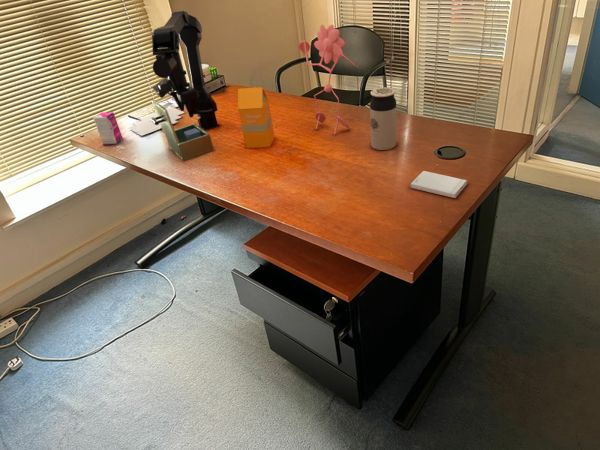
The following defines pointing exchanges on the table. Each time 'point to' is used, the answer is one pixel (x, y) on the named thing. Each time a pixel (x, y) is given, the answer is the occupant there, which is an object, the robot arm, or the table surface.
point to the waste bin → (190, 143)
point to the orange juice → (255, 117)
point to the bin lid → (164, 121)
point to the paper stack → (149, 126)
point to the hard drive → (439, 184)
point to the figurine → (327, 61)
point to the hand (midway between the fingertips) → (187, 114)
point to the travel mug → (383, 118)
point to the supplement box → (108, 128)
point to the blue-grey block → (192, 134)
